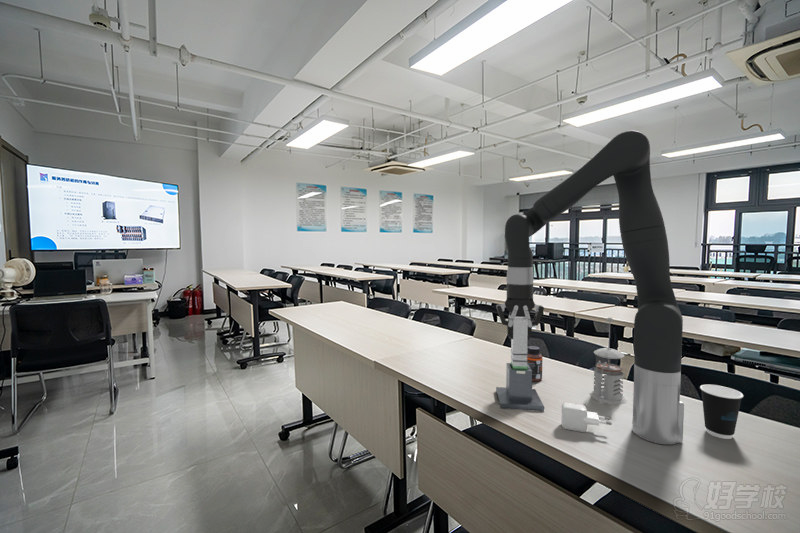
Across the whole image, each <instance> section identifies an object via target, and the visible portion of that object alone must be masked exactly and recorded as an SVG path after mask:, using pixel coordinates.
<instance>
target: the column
mask: <svg viewBox="0 0 800 533" xmlns="http://www.w3.org/2000/svg"><path fill="white" fill-rule="evenodd" d="M512 327H513V339H510V342H511V343H510V346H511V347H510V351H511V352H510V353H511V354H510V363H511V369H516V370H527V352H528V351H527V350H528V340H527V333H528V319H526V318H525V317H524V316H515V319H513V325H512Z"/></svg>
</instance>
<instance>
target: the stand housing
mask: <svg viewBox="0 0 800 533" xmlns="http://www.w3.org/2000/svg"><path fill="white" fill-rule="evenodd" d="M505 371H506V376H505V377H506V378H505V379H506V380H505V381H506V384H505V385H506V386H505V387H504V386H503V387H499V386H496V387H495V392H496V396H497V400H498V404H499V407H500V409H501V410H516V411H517V410H520V411H533V412H545V406H544V403H543V402H542V400H541V398H540V396H539V394H538V392H537V390H536V389H535V388H533V381H532V370H531V368H530V367H529V365H528V364H527V370H516V369H511V362H506V369H505Z"/></svg>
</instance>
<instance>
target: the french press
mask: <svg viewBox="0 0 800 533" xmlns="http://www.w3.org/2000/svg"><path fill="white" fill-rule="evenodd" d="M605 321H606V322H608V324H609V327H608V329H609V330H608V347H603V348H597V349H596V350H594V351H593V353H594V355H595V356H596V357H600V358H602V359H607V360H608V363H607V361H604V362H601V361H602V360H598V362H597V363H595V367H594V369H593V391H591V392H590V394H589V396H590V398H592V399H594V400H596V401H598V402H601V403H603V404H609V405H623V404H626V403H627V399H626V398H625V397H624V394H623V393H624V390H623V388H624V381H623V380H624V373H623V368H622V367H621V366H620V365H618V364H614V363H610V360H621V359H623V358H625V354H624V353H622V352H621V351H619V350H617V349H615V348H610V344H611V343H610V342H611V341H610V340H611V323H613V322H614V318H612V317H607V318H606V320H605Z"/></svg>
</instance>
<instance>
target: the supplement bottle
mask: <svg viewBox="0 0 800 533" xmlns="http://www.w3.org/2000/svg"><path fill="white" fill-rule="evenodd" d="M540 350H541V349H540V347H538V346H536V345H530V346H527V364H528V365H529V367H530V368H531V370H532V382H540V381H542V380H543V355H542V354H541V353H540V352H541V351H540Z"/></svg>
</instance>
